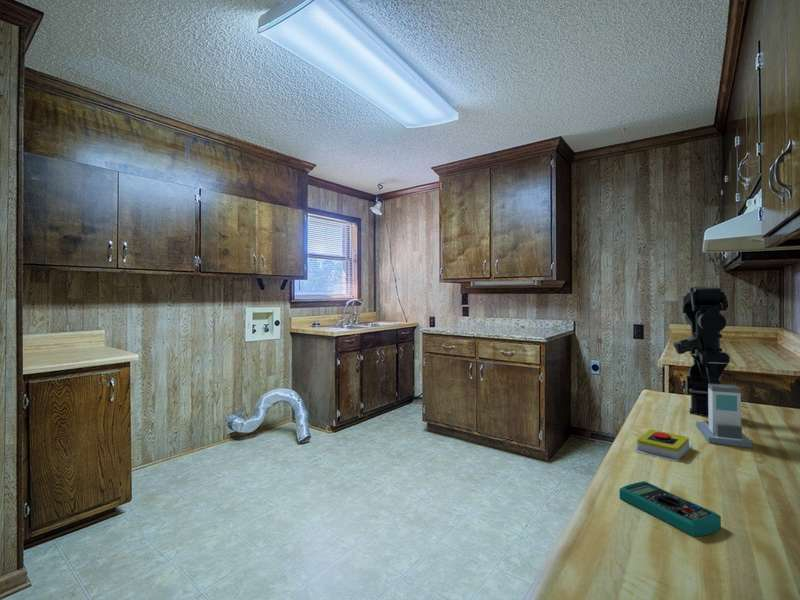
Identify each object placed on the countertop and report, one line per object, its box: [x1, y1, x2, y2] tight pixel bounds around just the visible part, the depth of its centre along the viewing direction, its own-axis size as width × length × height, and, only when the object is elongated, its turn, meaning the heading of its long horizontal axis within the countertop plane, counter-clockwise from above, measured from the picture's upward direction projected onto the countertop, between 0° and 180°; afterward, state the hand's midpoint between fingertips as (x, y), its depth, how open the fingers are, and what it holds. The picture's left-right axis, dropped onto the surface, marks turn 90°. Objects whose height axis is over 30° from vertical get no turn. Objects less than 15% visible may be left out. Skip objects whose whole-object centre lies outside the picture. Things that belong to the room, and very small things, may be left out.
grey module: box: [708, 383, 742, 434], centre depth 110 cm, size 5×6×12 cm
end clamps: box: [717, 424, 743, 439], centre depth 110 cm, size 10×5×3 cm, turn 154°
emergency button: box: [634, 429, 692, 462], centre depth 104 cm, size 9×4×15 cm
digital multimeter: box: [618, 480, 722, 537], centre depth 74 cm, size 7×15×3 cm, turn 22°
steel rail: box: [703, 420, 742, 441], centre depth 112 cm, size 15×5×1 cm, turn 154°
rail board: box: [695, 420, 753, 449], centre depth 112 cm, size 15×9×2 cm, turn 154°
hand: (708, 382), depth 121 cm, fingers open, 9 cm apart
